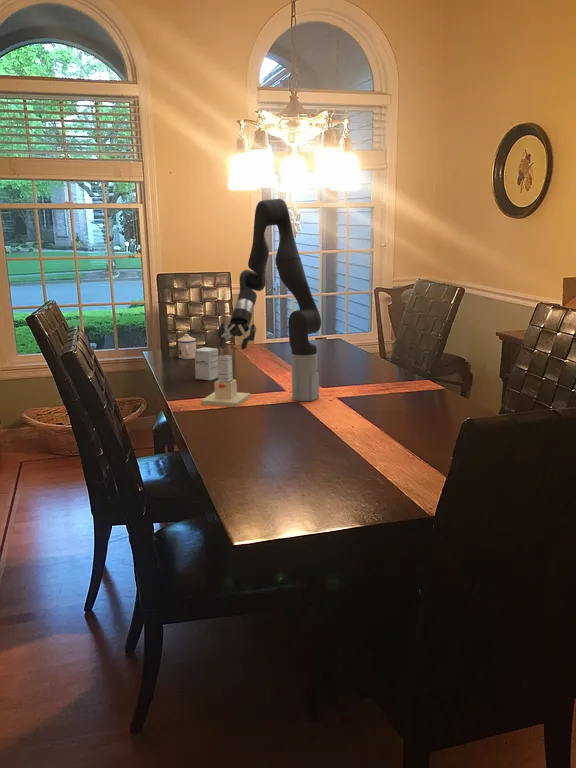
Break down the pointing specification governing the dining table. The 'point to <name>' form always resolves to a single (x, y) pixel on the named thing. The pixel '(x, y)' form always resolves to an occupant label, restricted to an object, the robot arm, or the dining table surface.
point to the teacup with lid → (187, 347)
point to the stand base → (226, 395)
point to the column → (225, 368)
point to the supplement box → (206, 363)
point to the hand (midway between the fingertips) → (232, 347)
